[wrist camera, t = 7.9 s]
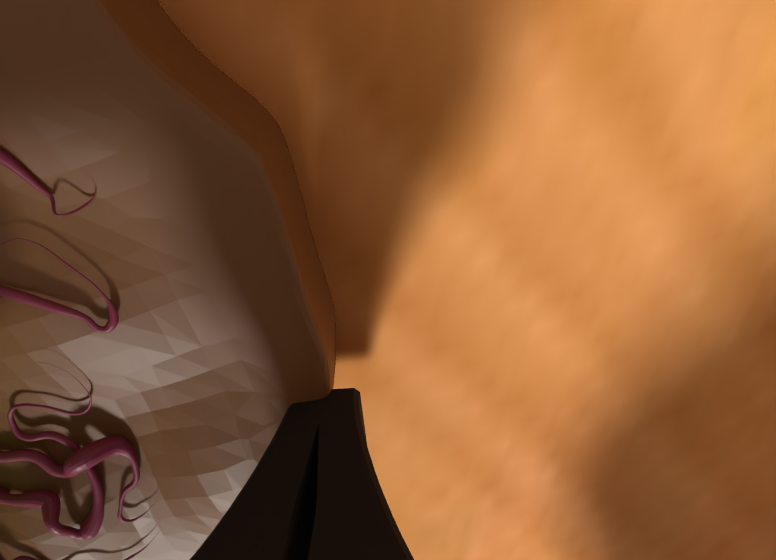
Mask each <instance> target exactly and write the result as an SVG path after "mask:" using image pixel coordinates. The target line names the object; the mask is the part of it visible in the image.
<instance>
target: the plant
mask: <svg viewBox="0 0 776 560" xmlns="http://www.w3.org/2000/svg"><path fill="white" fill-rule="evenodd" d="M335 360H336V323H335V313H334V307H333V302H332V298H331V295H330V291H329V288H328V284H327V281H326V277H325V274H324V271H323V268H322V265H321V262H320V259H319V256H318V253H317V250H316V247H315V244H314V240H313V236H312V233H311V229H310V225H309V222H308V218H307V215H306V211H305V207H304V203H303V199H302V195H301V191H300V188H299V184H298V180H297V177H296V173H295V169H294V166H293V163H292V160H291V156H290V153H289V150H288V147H287V144H286V142H285V139H284V136H283V134H282V132H281V129H280V127H279V125H278V123H277V122H276V120H275V119H274V118H273V116H272V115H271V114H270V113H269V112H268V111H267V110H266V109H265V108H264V107H263V106H262V105H261V104H260V103H259V102H258V101H257V100H256V99H255V98H254V97H252V96H251V95H250V94H249V93H248V92H246V91H245V90H244V89H243V88H242V87H240V86H239V85H238V84H237V83H235V82H234V81H233V80H232V79H231V78H229V77H228V76H227V75H226V74H224V73H223V72H222V71H221V70H220V69H218V68H217V67H216V66H215V65H213V64H212V63H211V62H210V61H209V60H208V59H207V58H206V57H205V56H204V55H203V54H202V53H200V52H199V51H198V50H197V49H196V48H195V47H194V46H193V45H192V44H191V43H190V42H189V40H188V39H187V38H186V37H185V36H184V35H183V34H182V33H181V32H180V31H179V29H178V28H177V27H176V26H175V25H174V23H173V22H172V21H171V19H170V18H169V17H168V15H167V14H166V13H165V11H164V10H163V8H162V7H161V5H160V4H159V2H158V1H157V0H0V560H190V558H191V557H192V556H193V555H194V554H195V553H196V551H197V550H198V549H199V548H200V546H201V545H202V544H203V542H204V541H205V540H206V539H207V537H208V536H209V535H210V534H211V532H212V531H213V530H214V528H215V527H216V526H217V524H218V523H219V522H220V520H221V519H222V517H223V516H224V515H225V513H226V512H227V511H228V509H229V508H230V506H231V505H232V503H233V502H234V500H235V499H236V497H237V496H238V494H239V493H240V491H241V490H242V488H243V487H244V485H245V484H246V482H247V481H248V479H249V478H250V476H251V474H252V473H253V471H254V469H255V468H256V466H257V464H258V463H259V461H260V459H261V458H262V456H263V454H264V452H265V451H266V449H267V447H268V446H269V444H270V442H271V440H272V438H273V437H274V435H275V433H276V431H277V429H278V427H279V425H280V423H281V421H282V420H283V417H284V415H285V413H286V411H287V409H288V408H289V407H290V406H291V405H292V404H293V403H299V402H306V401H313V400H319V399H322V398H325V397H327V396H328V395H329V394H330V392H331V389H333V385H334V374H335Z"/></svg>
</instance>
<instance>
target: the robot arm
mask: <svg viewBox="0 0 776 560" xmlns="http://www.w3.org/2000/svg"><path fill="white" fill-rule="evenodd" d="M190 560H414V559H413V557H412V555H411V553H410V551H409V549H408V547H407V545H406V543H405V541H404V539H403V537H402V535H401V533H400V531H399V529H398V527H397V524H396V522H395V520H394V518H393V516H392V513H391V511H390V509H389V506H388V504H387V502H386V499H385V497H384V494H383V492H382V489H381V486H380V484H379V481H378V478H377V476H376V473H375V470H374V467H373V464H372V460H371V457H370V454H369V451H368V448H367V442H366V434H365V427H364V420H363V412H362V405H361V397H360V392H359V391H358V390H356V389H355V388H347V389H331V392H330V394H329V395H328V396H327V397H325V398H322V399H319V400H313V401H306V402H299V403H293V404H292V405H291V406H290V407H289V408H288V409H287V411H286V413H285V415H284V417H283V420H282V421H281V423H280V425H279V427H278V429H277V431H276V433H275V435H274V437H273V438H272V440H271V442H270V444H269V446H268V447H267V449H266V451H265V452H264V454H263V456H262V458H261V459H260V461H259V463H258V464H257V466H256V468H255V469H254V471H253V473H252V474H251V476H250V478H249V479H248V481H247V482H246V484H245V485H244V487H243V488H242V490H241V491H240V493H239V494H238V496H237V497H236V499H235V500H234V502H233V503H232V505H231V506H230V508H229V509H228V511H227V512H226V513H225V515H224V516H223V517H222V519H221V520H220V522H219V523H218V524H217V526H216V527H215V528H214V530H213V531H212V532H211V534H210V535H209V536H208V537H207V539H206V540H205V541H204V542H203V544H202V545H201V546H200V548H199V549H198V550H197V551H196V553H195V554H194V555H193V556H192V557H191V558H190Z"/></svg>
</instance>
